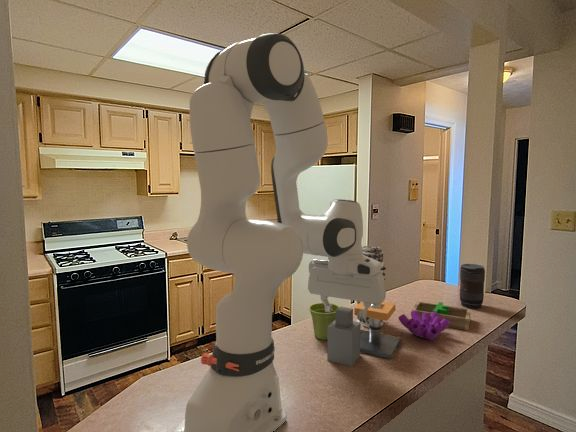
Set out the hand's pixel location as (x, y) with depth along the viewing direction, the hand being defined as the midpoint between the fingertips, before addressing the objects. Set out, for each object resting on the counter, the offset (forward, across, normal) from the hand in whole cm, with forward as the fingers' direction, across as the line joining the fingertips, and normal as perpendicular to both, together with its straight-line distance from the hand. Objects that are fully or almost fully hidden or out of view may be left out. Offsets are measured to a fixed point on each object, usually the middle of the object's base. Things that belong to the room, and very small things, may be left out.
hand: (345, 314), depth 95 cm
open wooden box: (+12, +19, +39) cm, 45 cm away
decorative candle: (+12, -1, +26) cm, 29 cm away
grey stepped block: (+12, 0, -1) cm, 12 cm away
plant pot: (+12, -10, +10) cm, 18 cm away
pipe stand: (+12, +5, +10) cm, 16 cm away
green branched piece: (+12, +19, +39) cm, 45 cm away
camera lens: (+13, +27, +59) cm, 66 cm away
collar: (+2, +5, +11) cm, 12 cm away
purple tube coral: (+12, +16, +24) cm, 32 cm away
